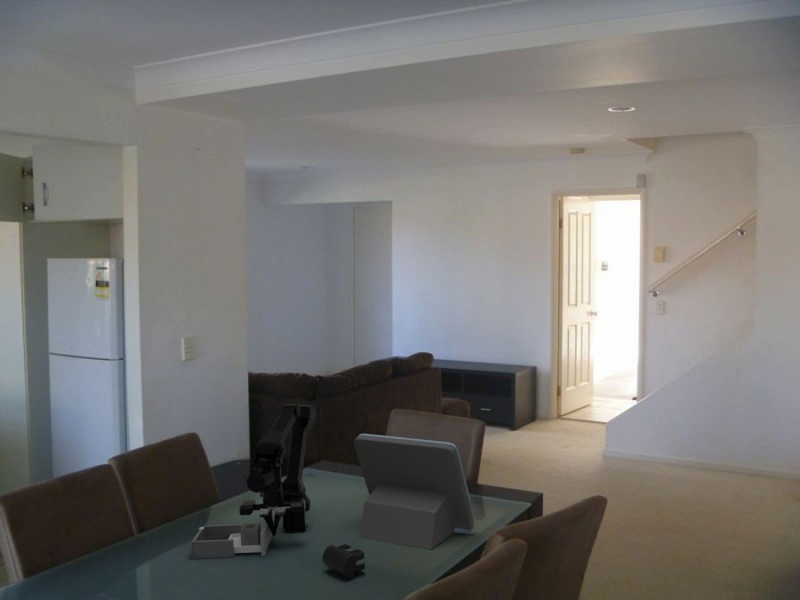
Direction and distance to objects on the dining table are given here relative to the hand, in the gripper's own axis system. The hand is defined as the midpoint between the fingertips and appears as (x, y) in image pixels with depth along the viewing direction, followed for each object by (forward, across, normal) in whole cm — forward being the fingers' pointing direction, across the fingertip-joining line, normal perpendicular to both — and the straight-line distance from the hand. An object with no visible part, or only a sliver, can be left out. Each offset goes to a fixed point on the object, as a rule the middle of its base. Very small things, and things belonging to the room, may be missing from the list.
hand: (274, 535), depth 235 cm
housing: (+4, +16, 0) cm, 17 cm away
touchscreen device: (+4, -40, -7) cm, 41 cm away
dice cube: (+2, +7, 0) cm, 7 cm away
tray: (+3, +8, 0) cm, 8 cm away
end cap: (+4, -21, +22) cm, 31 cm away
